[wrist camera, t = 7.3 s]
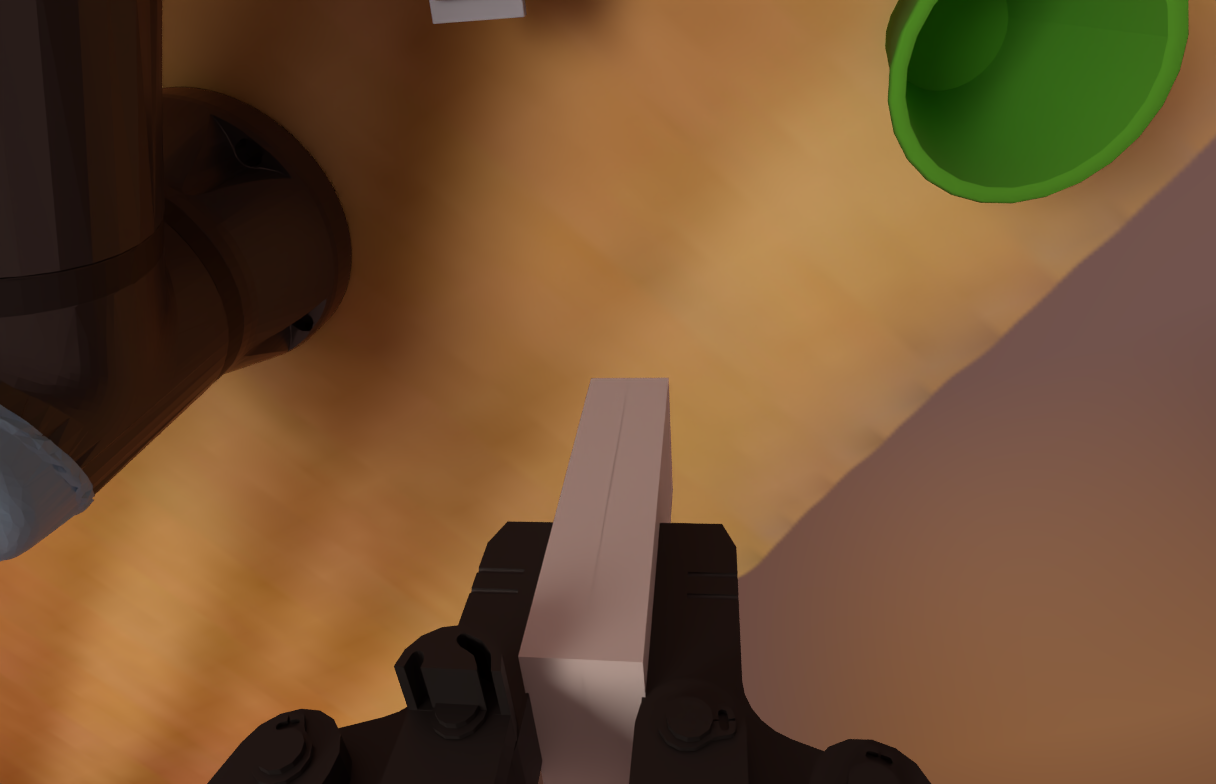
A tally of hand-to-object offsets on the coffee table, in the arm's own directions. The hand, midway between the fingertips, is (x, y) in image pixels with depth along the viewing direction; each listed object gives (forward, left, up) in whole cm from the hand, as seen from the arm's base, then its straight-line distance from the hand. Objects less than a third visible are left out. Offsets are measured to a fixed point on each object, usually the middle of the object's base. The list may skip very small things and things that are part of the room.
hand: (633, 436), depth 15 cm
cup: (+12, +4, -27) cm, 30 cm away
